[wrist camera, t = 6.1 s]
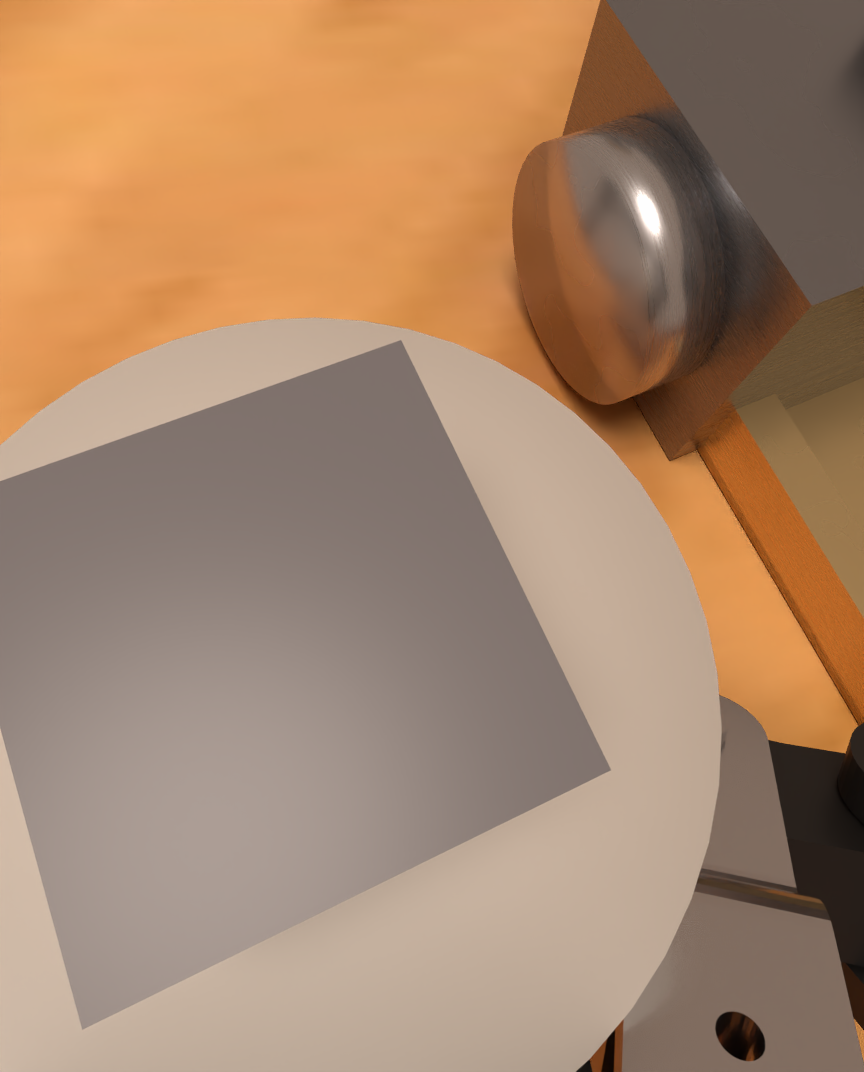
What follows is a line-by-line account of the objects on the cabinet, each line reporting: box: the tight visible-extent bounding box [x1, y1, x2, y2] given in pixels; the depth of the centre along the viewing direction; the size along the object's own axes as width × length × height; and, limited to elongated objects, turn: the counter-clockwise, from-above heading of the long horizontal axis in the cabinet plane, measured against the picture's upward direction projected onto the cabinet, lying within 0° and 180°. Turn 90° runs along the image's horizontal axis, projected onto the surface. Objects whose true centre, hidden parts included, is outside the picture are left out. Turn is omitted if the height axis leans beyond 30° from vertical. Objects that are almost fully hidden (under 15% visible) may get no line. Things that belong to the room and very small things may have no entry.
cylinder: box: [0, 318, 722, 1072], centre depth 9 cm, size 5×5×13 cm
